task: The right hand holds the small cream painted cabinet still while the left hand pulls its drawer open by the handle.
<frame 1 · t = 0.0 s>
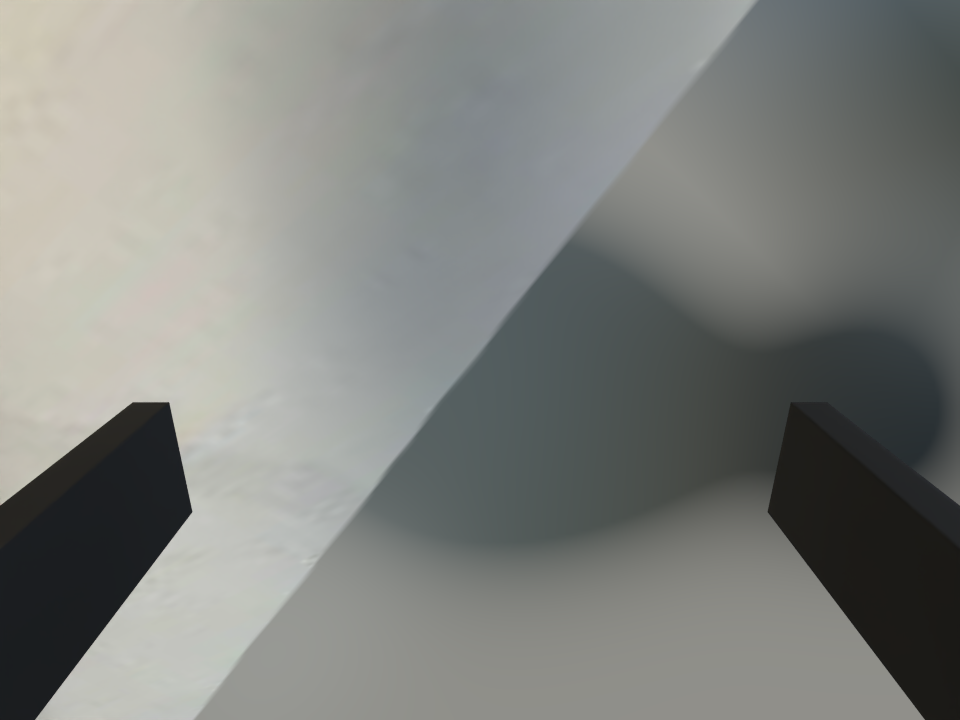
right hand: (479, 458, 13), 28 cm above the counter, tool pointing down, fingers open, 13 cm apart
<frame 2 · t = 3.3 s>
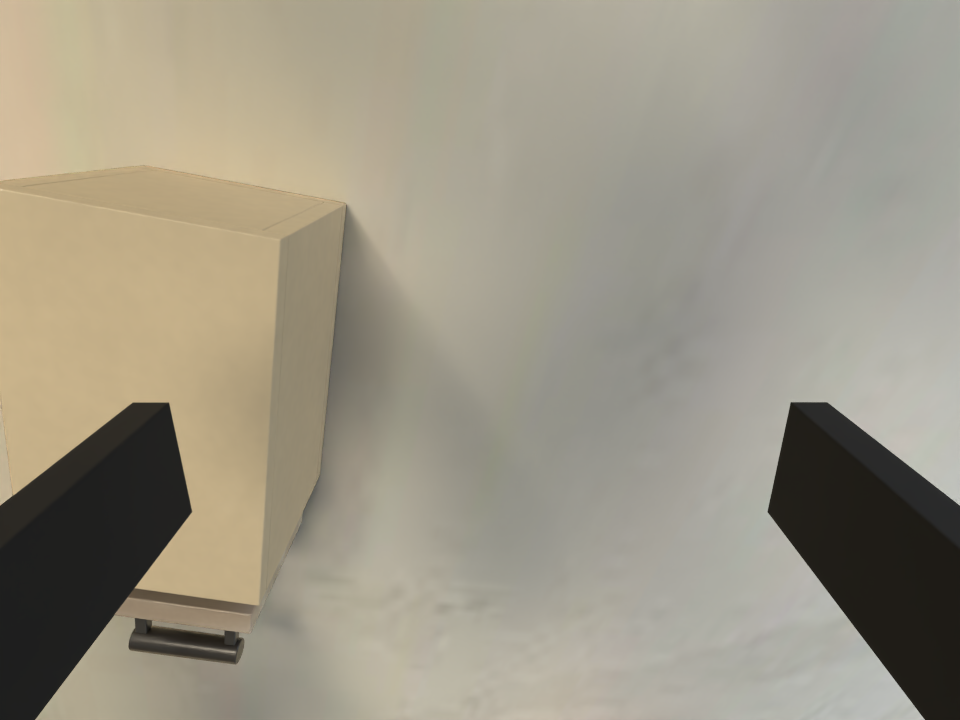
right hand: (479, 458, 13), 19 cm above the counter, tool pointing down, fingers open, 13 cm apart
cabinet: (240, 335, 32), on the counter
drawer: (196, 486, 30), point 5 cm above the counter, slide at 1.6 cm
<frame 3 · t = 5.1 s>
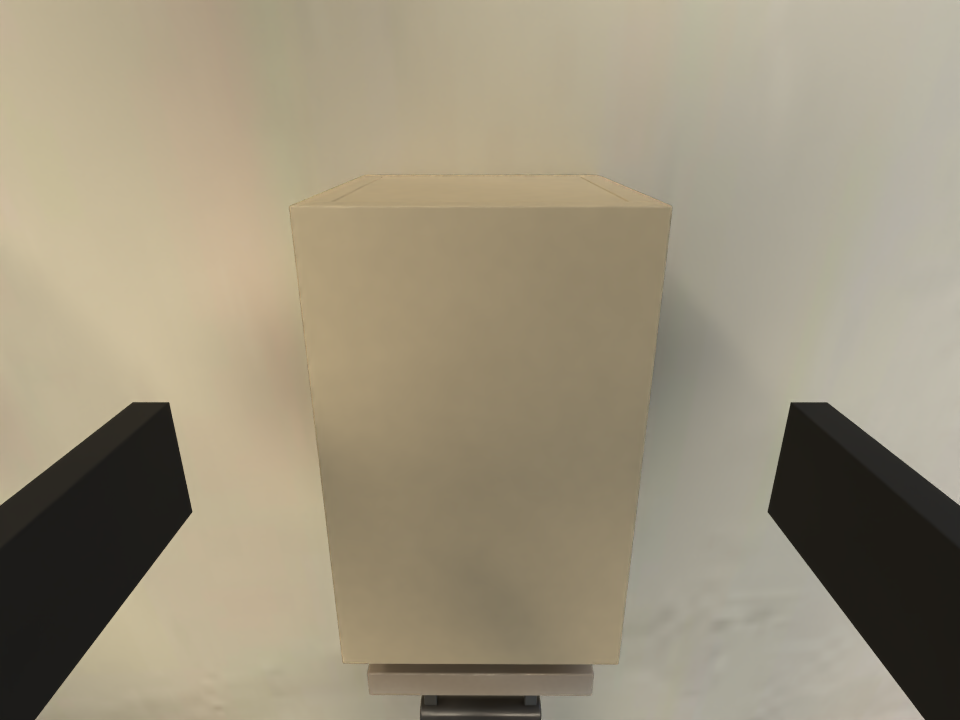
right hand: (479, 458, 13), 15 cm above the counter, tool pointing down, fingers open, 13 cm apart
cabinet: (481, 352, 28), on the counter
drawer: (480, 531, 25), point 5 cm above the counter, slide at 1.6 cm
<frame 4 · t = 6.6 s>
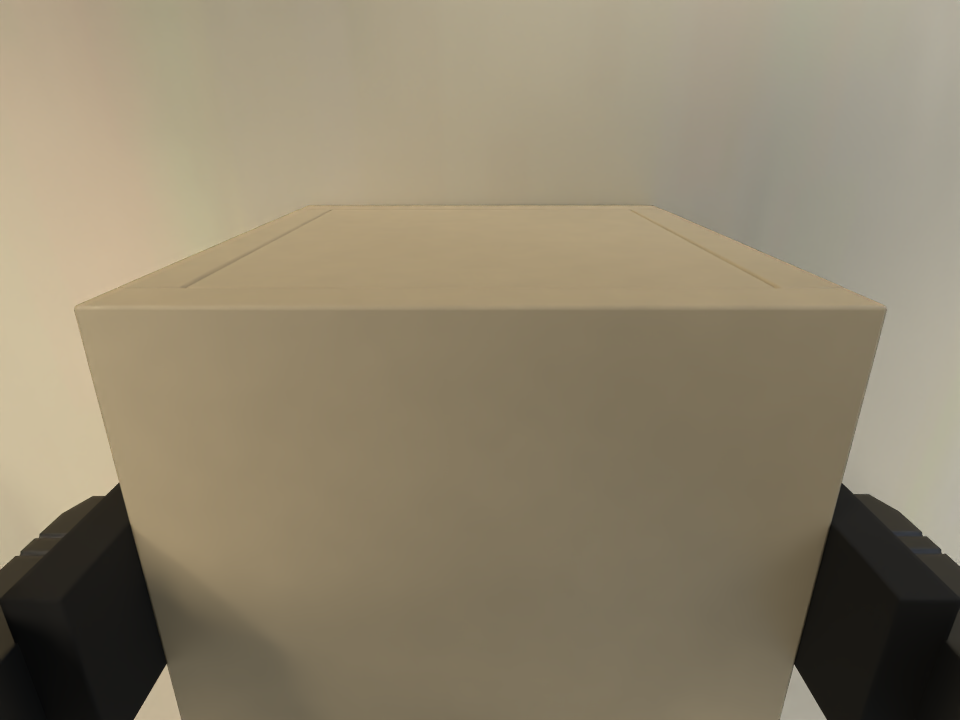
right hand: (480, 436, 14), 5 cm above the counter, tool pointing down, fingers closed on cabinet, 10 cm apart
cabinet: (480, 451, 20), on the counter, touching right hand
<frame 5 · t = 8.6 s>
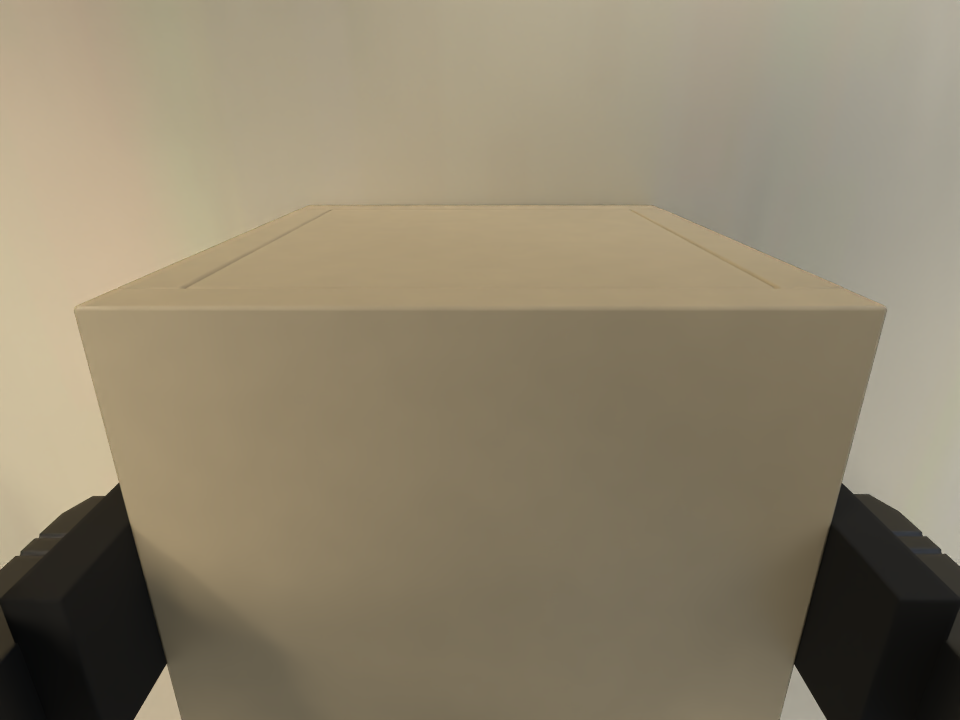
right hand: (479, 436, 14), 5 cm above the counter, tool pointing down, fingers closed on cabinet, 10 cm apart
cabinet: (480, 451, 20), on the counter, touching right hand
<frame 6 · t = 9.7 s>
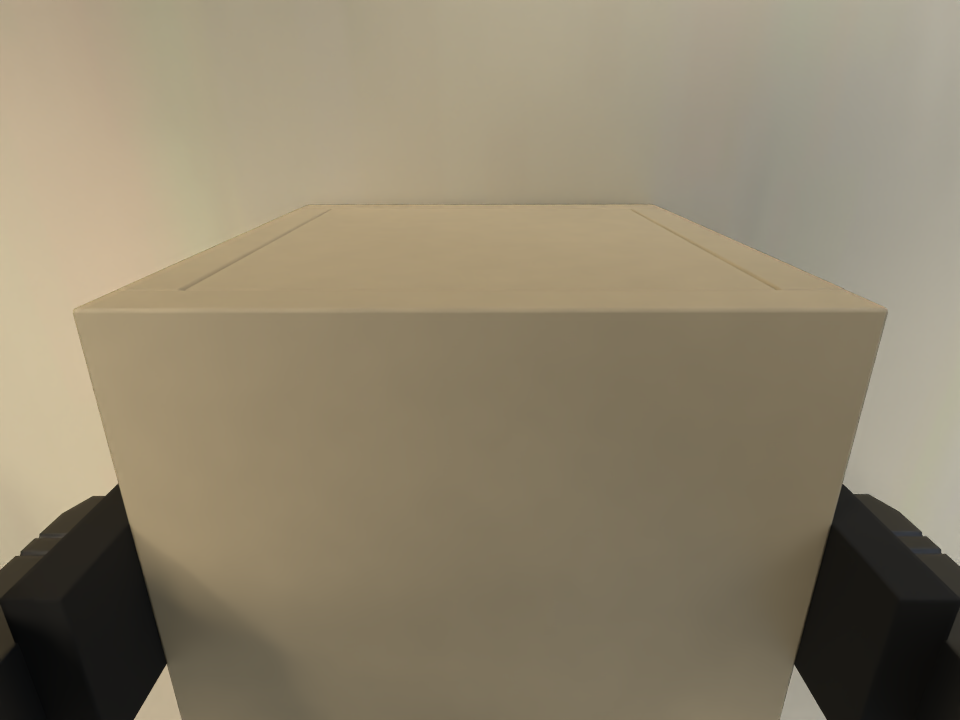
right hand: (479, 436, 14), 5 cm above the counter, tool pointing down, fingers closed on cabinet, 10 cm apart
cabinet: (480, 450, 20), on the counter, touching right hand
when the right hand's fingers open (5 cm above the counter, at t = 11.1 s): cabinet stays where it is, on the counter.
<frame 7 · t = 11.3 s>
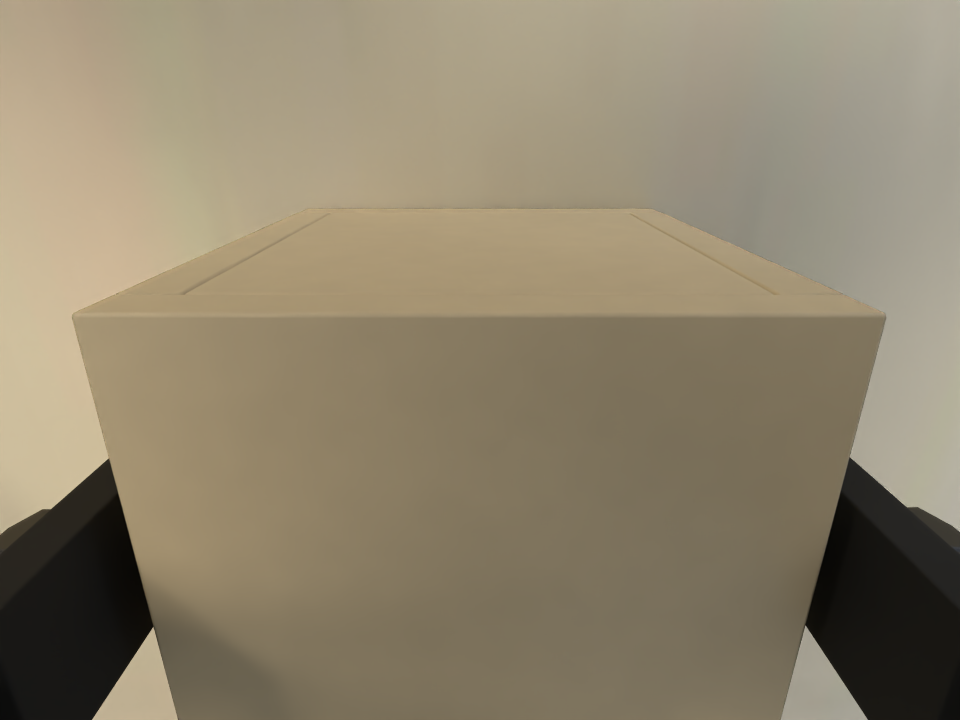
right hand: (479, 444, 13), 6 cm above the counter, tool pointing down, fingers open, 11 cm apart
cabinet: (479, 454, 20), on the counter
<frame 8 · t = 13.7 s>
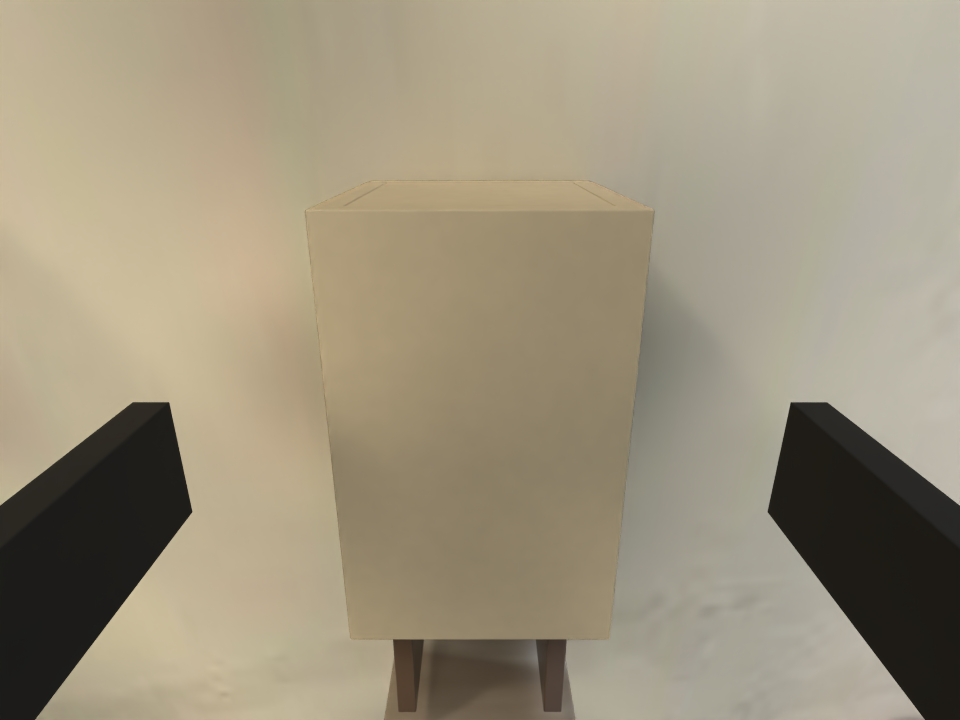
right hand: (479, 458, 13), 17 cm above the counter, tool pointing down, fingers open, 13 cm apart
cabinet: (479, 349, 29), on the counter
drawer: (479, 608, 29), point 5 cm above the counter, slide at 6.9 cm
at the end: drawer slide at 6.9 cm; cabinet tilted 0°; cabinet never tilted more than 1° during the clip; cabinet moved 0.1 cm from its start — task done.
